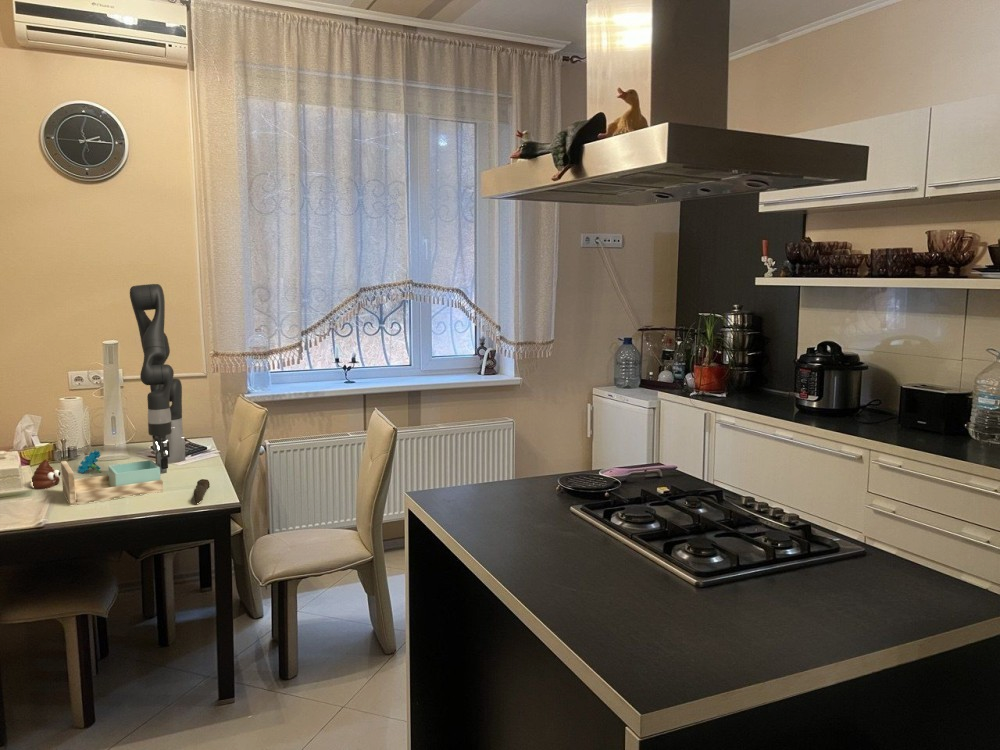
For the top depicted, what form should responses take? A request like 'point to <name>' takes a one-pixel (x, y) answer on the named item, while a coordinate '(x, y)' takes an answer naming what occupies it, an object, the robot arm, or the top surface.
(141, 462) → the crate
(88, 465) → the gear
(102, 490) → the bay
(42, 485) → the poop emoji
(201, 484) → the dark brown lumpy rod
